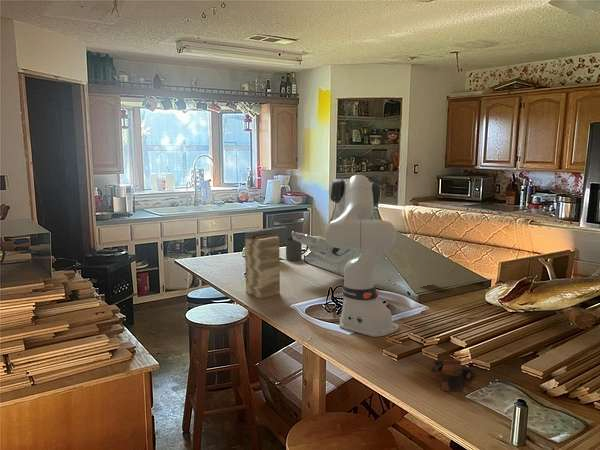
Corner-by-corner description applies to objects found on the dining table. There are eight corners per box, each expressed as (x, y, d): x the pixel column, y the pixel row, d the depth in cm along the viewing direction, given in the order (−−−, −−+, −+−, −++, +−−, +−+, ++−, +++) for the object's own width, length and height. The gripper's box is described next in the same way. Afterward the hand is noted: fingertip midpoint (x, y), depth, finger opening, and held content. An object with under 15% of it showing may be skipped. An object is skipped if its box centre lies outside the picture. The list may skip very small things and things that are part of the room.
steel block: (287, 233, 219) (287, 227, 218) (248, 239, 206) (248, 232, 205) (283, 232, 221) (283, 226, 221) (244, 238, 208) (244, 231, 207)
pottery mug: (430, 391, 131) (427, 360, 134) (439, 392, 139) (436, 363, 142) (476, 390, 126) (471, 357, 129) (482, 391, 133) (478, 360, 136)
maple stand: (279, 294, 215) (279, 234, 210) (261, 298, 208) (260, 237, 204) (264, 288, 224) (263, 231, 219) (246, 292, 218) (244, 233, 213)
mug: (288, 261, 275) (288, 240, 273) (284, 257, 284) (283, 237, 282) (311, 259, 279) (311, 239, 277) (306, 256, 288) (306, 236, 286)
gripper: (306, 236, 243) (288, 225, 234) (334, 242, 227) (315, 231, 219) (302, 247, 242) (283, 237, 233) (329, 254, 226) (310, 244, 218)
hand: (299, 234), depth 226 cm, fingers open, 8 cm apart
